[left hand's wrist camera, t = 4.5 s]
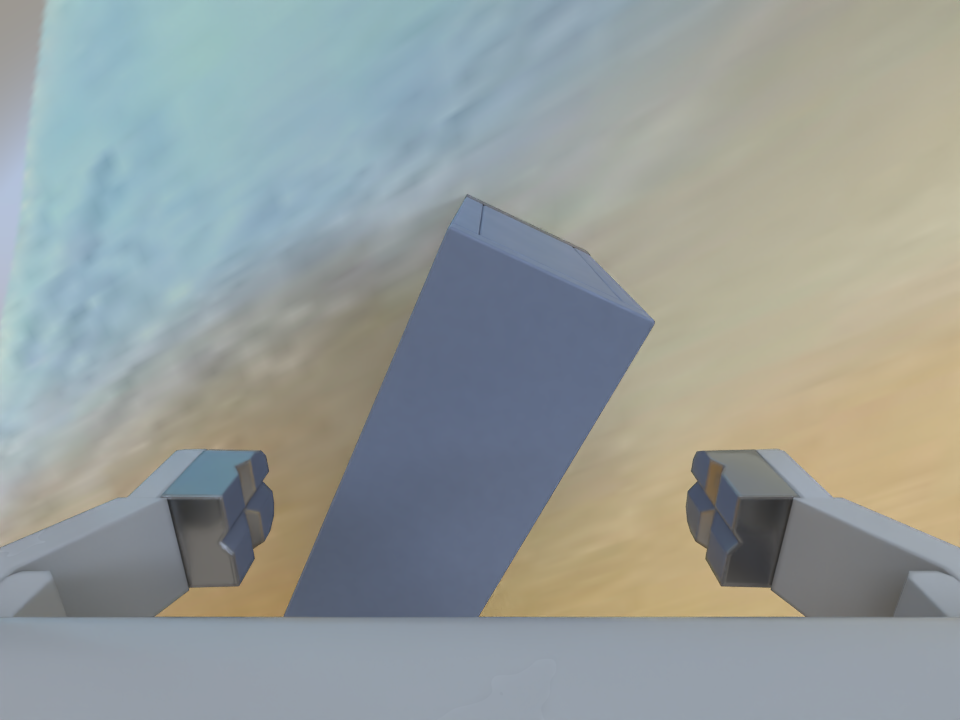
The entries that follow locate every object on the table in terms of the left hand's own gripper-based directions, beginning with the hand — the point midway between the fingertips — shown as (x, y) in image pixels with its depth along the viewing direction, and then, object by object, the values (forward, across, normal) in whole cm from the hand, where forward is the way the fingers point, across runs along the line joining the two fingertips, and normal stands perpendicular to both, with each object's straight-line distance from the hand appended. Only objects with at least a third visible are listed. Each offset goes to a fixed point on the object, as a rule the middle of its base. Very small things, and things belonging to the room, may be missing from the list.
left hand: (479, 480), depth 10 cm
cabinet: (+14, -2, -5) cm, 14 cm away
